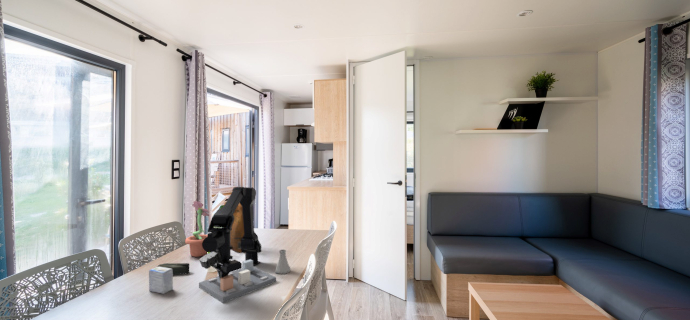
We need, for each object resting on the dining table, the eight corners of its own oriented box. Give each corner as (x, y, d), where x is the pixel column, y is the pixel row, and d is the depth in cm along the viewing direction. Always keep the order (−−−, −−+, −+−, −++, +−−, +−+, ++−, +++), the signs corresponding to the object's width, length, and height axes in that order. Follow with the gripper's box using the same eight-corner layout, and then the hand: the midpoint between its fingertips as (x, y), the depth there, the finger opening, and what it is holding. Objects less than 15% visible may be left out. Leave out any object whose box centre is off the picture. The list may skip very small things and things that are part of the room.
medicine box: (173, 289, 118) (173, 268, 118) (163, 294, 114) (163, 272, 114) (159, 286, 120) (158, 265, 120) (148, 291, 116) (148, 269, 116)
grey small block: (242, 271, 131) (242, 261, 131) (250, 269, 134) (250, 259, 134) (245, 273, 129) (245, 263, 129) (253, 270, 132) (253, 260, 132)
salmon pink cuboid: (220, 289, 113) (220, 278, 113) (230, 285, 116) (230, 274, 116) (223, 291, 112) (223, 279, 112) (233, 287, 115) (233, 276, 115)
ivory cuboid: (238, 283, 119) (238, 272, 119) (247, 280, 122) (247, 269, 122) (241, 284, 117) (241, 273, 117) (250, 281, 120) (250, 270, 120)
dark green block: (190, 261, 136) (154, 263, 133) (187, 264, 133) (151, 265, 130) (189, 272, 136) (154, 274, 133) (187, 275, 133) (151, 276, 130)
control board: (198, 287, 120) (198, 281, 120) (250, 270, 138) (250, 264, 138) (222, 303, 107) (222, 296, 107) (276, 281, 125) (276, 275, 125)
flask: (286, 275, 133) (286, 253, 132) (272, 273, 134) (272, 252, 134) (292, 269, 140) (292, 248, 140) (278, 268, 141) (278, 247, 141)
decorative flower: (219, 253, 161) (219, 200, 161) (195, 261, 149) (195, 203, 149) (204, 249, 169) (204, 198, 169) (180, 256, 157) (179, 201, 157)
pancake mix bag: (239, 255, 158) (239, 204, 158) (222, 248, 171) (222, 201, 171) (250, 252, 163) (250, 203, 163) (233, 245, 176) (233, 199, 176)
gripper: (191, 244, 116) (191, 283, 116) (214, 254, 104) (214, 297, 104) (218, 238, 124) (218, 274, 124) (242, 247, 112) (242, 287, 112)
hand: (222, 282), depth 116 cm, fingers closed
